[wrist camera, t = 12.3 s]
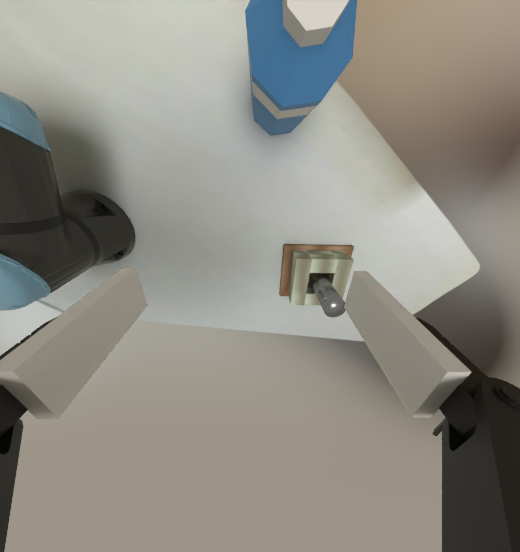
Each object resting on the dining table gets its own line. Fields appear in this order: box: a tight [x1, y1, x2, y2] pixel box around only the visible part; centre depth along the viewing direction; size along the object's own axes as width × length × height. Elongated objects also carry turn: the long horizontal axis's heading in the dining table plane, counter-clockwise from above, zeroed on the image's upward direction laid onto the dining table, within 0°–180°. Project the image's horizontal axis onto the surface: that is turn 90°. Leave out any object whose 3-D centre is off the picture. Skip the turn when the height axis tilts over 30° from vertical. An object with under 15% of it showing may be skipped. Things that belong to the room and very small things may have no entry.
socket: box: [280, 244, 354, 305], centre depth 46 cm, size 16×14×6 cm
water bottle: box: [245, 0, 357, 135], centre depth 22 cm, size 9×9×25 cm
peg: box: [308, 273, 345, 317], centre depth 42 cm, size 4×4×14 cm
